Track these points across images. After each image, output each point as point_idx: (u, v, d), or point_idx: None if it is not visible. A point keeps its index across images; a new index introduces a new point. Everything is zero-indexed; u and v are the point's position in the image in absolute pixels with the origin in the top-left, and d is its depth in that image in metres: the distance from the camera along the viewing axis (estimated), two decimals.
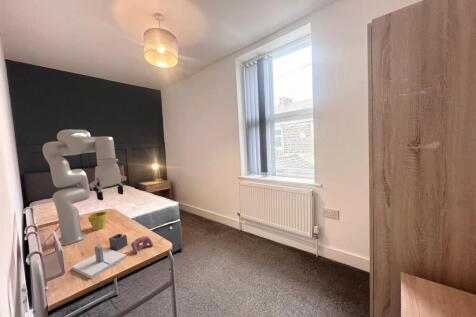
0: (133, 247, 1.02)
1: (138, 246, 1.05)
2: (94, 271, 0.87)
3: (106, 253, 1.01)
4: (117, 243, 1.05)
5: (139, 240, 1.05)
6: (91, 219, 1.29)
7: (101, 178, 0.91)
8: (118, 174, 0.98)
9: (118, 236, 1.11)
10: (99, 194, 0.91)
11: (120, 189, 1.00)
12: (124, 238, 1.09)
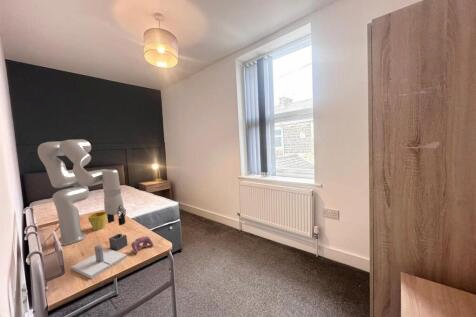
0: (133, 247, 1.02)
1: (138, 246, 1.05)
2: (94, 271, 0.87)
3: (106, 253, 1.01)
4: (117, 243, 1.05)
5: (139, 240, 1.05)
6: (91, 219, 1.29)
7: None
8: None
9: (118, 236, 1.11)
10: (123, 218, 1.06)
11: (112, 217, 1.10)
12: (124, 238, 1.09)
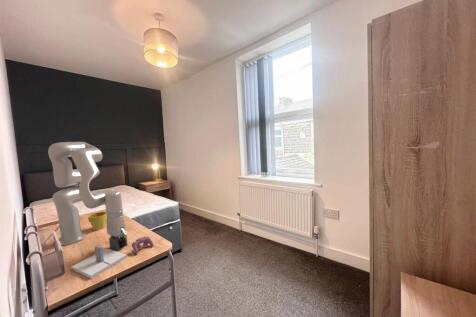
0: (134, 247, 1.02)
1: (139, 246, 1.05)
2: (94, 271, 0.87)
3: (106, 253, 1.01)
4: (117, 243, 1.05)
5: (140, 240, 1.05)
6: (91, 219, 1.29)
7: None
8: None
9: None
10: None
11: None
12: None
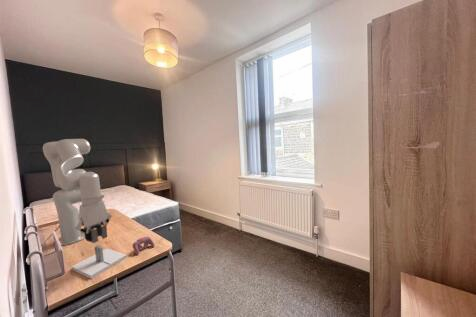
0: (134, 248, 1.02)
1: (139, 247, 1.05)
2: (94, 271, 0.87)
3: (106, 253, 1.01)
4: None
5: (140, 241, 1.05)
6: None
7: (85, 218, 0.88)
8: (104, 211, 0.95)
9: None
10: (87, 235, 0.89)
11: None
12: (90, 232, 0.90)
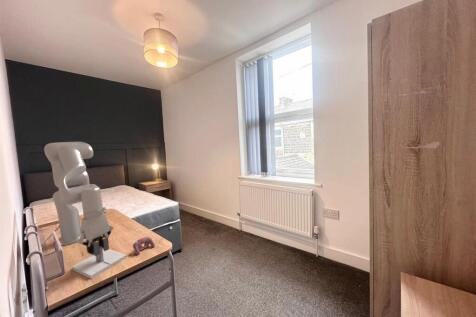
0: (135, 248, 1.01)
1: (140, 247, 1.04)
2: (94, 271, 0.87)
3: (106, 253, 1.01)
4: None
5: (141, 241, 1.04)
6: None
7: (87, 232, 0.88)
8: (106, 224, 0.95)
9: None
10: (89, 248, 0.90)
11: None
12: (92, 245, 0.90)
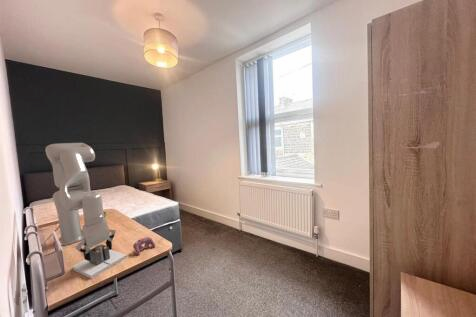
0: (135, 248, 1.01)
1: (140, 247, 1.04)
2: (94, 271, 0.87)
3: None
4: None
5: (141, 241, 1.04)
6: None
7: (88, 239, 0.89)
8: (106, 230, 0.96)
9: None
10: (86, 255, 0.89)
11: (108, 244, 0.98)
12: (94, 255, 0.91)
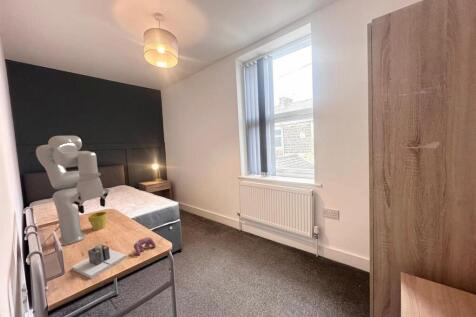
0: (136, 248, 1.01)
1: (141, 247, 1.04)
2: (94, 271, 0.87)
3: None
4: (89, 255, 0.93)
5: (142, 241, 1.04)
6: (91, 219, 1.29)
7: (82, 192, 0.95)
8: (100, 188, 1.02)
9: None
10: (80, 207, 0.96)
11: (102, 202, 1.04)
12: (94, 255, 0.91)
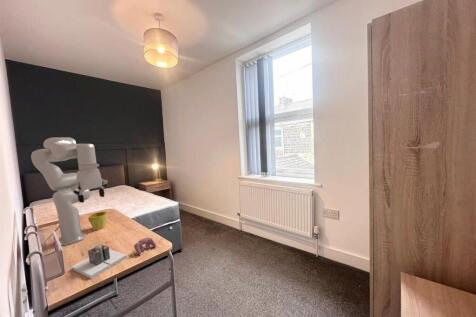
0: (136, 249, 1.01)
1: (141, 248, 1.04)
2: (94, 271, 0.87)
3: None
4: (89, 255, 0.93)
5: (142, 241, 1.04)
6: (91, 219, 1.29)
7: (82, 182, 0.99)
8: (99, 178, 1.05)
9: None
10: (80, 197, 0.99)
11: (101, 192, 1.08)
12: (94, 255, 0.91)
